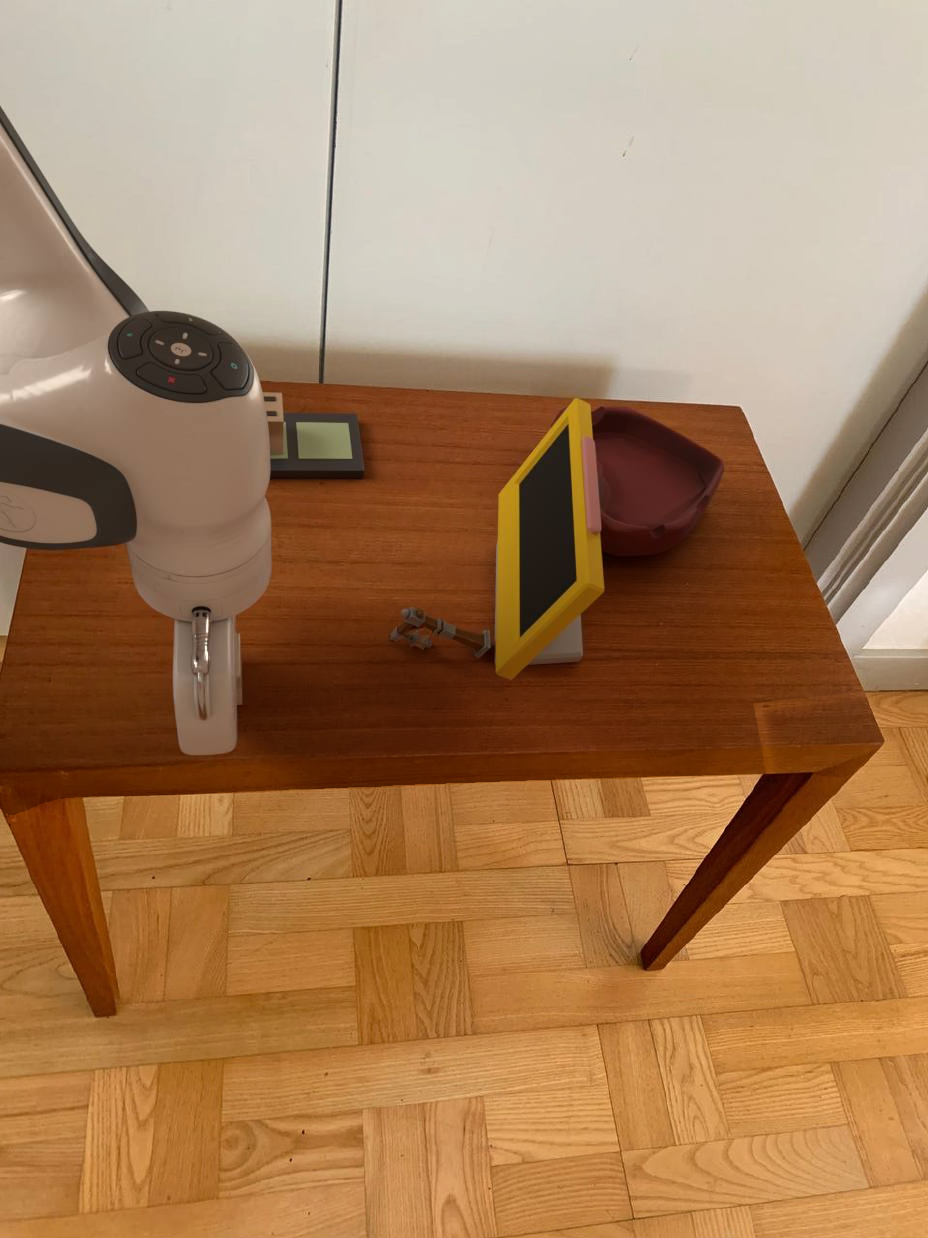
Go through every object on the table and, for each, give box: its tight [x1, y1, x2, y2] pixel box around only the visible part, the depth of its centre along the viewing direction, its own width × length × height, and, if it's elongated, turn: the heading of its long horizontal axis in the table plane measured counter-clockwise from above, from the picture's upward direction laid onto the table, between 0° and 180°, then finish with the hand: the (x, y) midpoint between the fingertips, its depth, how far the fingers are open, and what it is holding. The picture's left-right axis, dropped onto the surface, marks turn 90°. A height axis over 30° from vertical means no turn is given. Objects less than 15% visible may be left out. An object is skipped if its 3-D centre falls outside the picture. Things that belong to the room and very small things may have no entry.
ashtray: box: [549, 405, 725, 557], centre depth 90 cm, size 18×16×5 cm
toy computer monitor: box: [493, 397, 605, 681], centre depth 75 cm, size 20×8×16 cm, turn 178°
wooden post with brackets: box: [388, 606, 491, 659], centre depth 76 cm, size 2×8×4 cm, turn 91°
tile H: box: [262, 391, 284, 454], centre depth 85 cm, size 4×4×4 cm
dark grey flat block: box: [270, 412, 365, 479], centre depth 88 cm, size 13×8×1 cm, turn 99°
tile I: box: [236, 632, 243, 706], centre depth 70 cm, size 4×4×4 cm
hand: (214, 672), depth 70 cm, fingers closed on tile I, 4 cm apart
